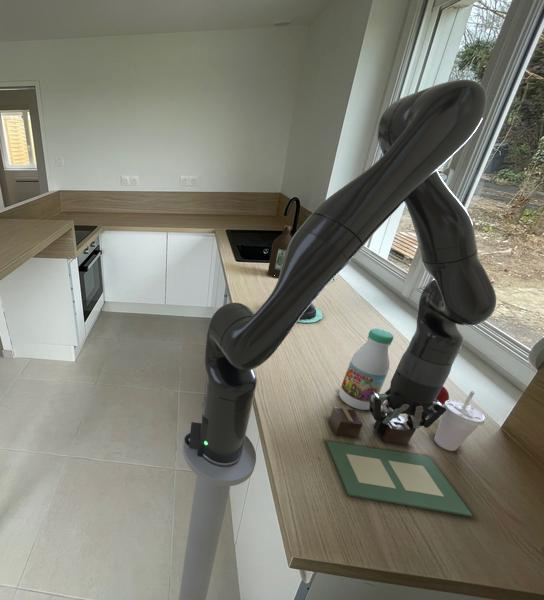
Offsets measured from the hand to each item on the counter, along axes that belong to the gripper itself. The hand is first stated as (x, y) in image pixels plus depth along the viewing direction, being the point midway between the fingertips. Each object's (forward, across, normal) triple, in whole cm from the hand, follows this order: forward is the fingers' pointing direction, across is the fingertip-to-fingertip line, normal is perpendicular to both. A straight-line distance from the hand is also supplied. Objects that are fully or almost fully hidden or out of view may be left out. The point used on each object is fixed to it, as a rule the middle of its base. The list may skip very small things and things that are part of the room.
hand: (390, 434), depth 72 cm
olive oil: (-10, +5, -104) cm, 105 cm away
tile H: (0, 0, 0) cm, 0 cm away
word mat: (0, +5, +11) cm, 12 cm away
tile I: (0, +10, 0) cm, 10 cm away
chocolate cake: (+1, +6, -62) cm, 62 cm away
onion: (+1, -14, -12) cm, 18 cm away
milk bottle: (+1, +3, -11) cm, 11 cm away
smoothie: (+1, -11, 0) cm, 11 cm away
